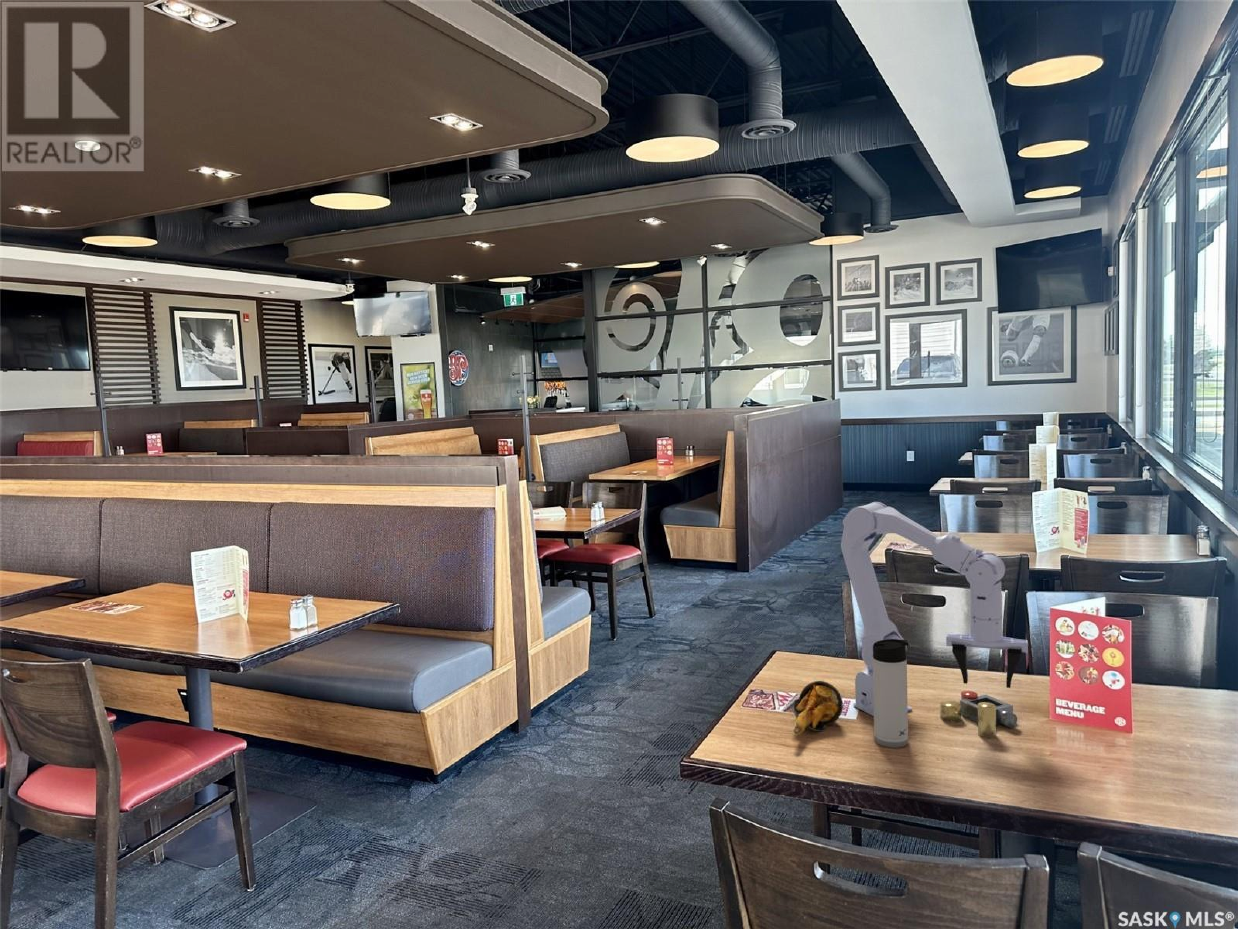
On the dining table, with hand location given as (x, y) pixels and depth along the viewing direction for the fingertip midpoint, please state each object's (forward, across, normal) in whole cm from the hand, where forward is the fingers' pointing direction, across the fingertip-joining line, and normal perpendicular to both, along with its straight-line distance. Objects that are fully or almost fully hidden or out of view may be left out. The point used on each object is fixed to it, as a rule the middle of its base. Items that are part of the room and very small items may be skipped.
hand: (986, 684), depth 159 cm
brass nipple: (+10, 0, +2) cm, 10 cm away
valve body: (+10, 0, -7) cm, 12 cm away
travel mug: (+10, +17, +11) cm, 22 cm away
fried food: (+10, +32, +10) cm, 35 cm away
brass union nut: (+10, +7, -4) cm, 13 cm away
